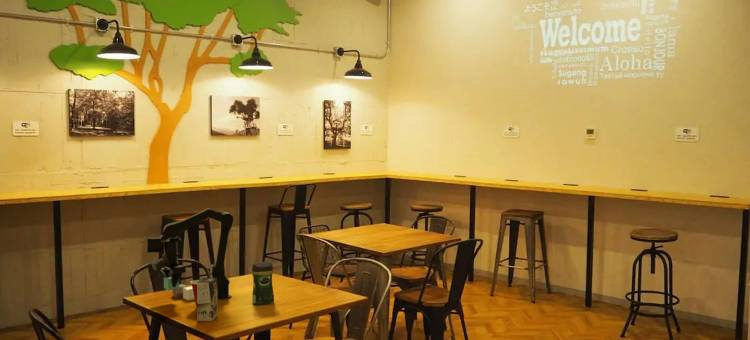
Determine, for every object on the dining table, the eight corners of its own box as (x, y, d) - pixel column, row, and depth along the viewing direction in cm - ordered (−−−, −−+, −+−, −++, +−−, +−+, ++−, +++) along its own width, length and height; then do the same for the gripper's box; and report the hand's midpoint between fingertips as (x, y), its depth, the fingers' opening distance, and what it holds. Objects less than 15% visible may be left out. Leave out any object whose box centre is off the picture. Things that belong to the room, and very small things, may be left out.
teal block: (179, 288, 308) (178, 277, 308) (168, 290, 305) (168, 279, 305) (174, 286, 312) (174, 275, 312) (163, 288, 309) (163, 277, 308)
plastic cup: (220, 305, 302) (220, 279, 301) (207, 312, 291) (206, 284, 291) (199, 303, 305) (199, 277, 304) (185, 309, 295) (185, 282, 294)
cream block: (198, 298, 314) (197, 288, 314) (187, 300, 311) (187, 289, 311) (193, 296, 318) (193, 286, 318) (183, 298, 315) (183, 287, 315)
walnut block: (187, 296, 318) (187, 286, 318) (177, 298, 315) (177, 287, 315) (182, 294, 322) (182, 284, 322) (172, 296, 319) (172, 285, 319)
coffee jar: (271, 299, 312) (271, 259, 311) (275, 304, 304) (275, 263, 303) (250, 302, 308) (249, 261, 307) (254, 306, 301) (253, 264, 300)
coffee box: (212, 321, 278) (212, 282, 277) (197, 321, 278) (196, 282, 277) (218, 315, 287) (217, 277, 286) (203, 315, 287) (202, 277, 286)
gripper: (145, 251, 309) (146, 285, 310) (162, 257, 295) (162, 292, 296) (168, 248, 316) (169, 281, 317) (186, 254, 302) (186, 288, 303)
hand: (171, 286), depth 308 cm, fingers closed on teal block, 5 cm apart
